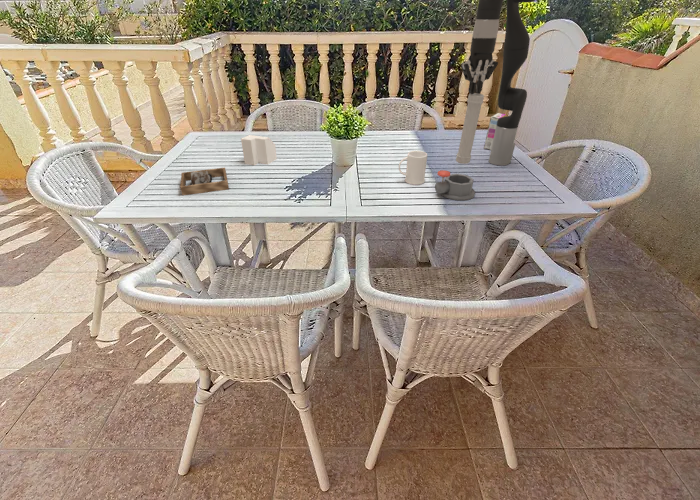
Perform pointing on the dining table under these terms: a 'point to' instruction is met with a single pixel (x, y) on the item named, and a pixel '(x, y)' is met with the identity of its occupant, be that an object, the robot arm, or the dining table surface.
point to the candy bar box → (492, 130)
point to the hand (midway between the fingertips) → (474, 93)
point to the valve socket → (455, 186)
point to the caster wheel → (200, 177)
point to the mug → (415, 167)
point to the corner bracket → (258, 150)
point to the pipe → (469, 127)
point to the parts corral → (205, 186)
